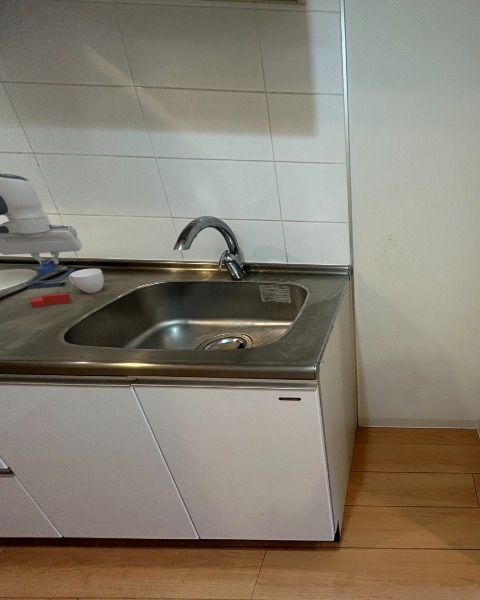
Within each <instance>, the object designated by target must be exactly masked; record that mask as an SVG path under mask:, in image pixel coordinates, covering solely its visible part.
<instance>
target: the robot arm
mask: <svg viewBox="0 0 480 600" xmlns="http://www.w3.org/2000/svg"><path fill="white" fill-rule="evenodd" d="M0 216H5V217H6V218H7V220H8V221H5V222H2V223H0V254H1V255H4V256H8V255H9V256H11V255H28V254H29V255H30V256H31V257H32V258H33V259H34V260H36V261H38V263H39V265H40V266H43V265H42V263H44V262H45V261H47V260H48V259H47V258H43V257H42V256H41V254H48V253H50V255H51V256H52V258H53V259H52V258H50V259H51V260H50V262H51V264H58V265H59V264H60V261H59V259H58V258H59V255H60V253H66V252H68V253H69V252H78V251H80V250H81V249H82V248H83V244H82V242H81V239H80V238H79V237H78V232H77V231H76V229H75V227H73V226H71V225H68V224H52V223H51V221H50V218H49V216H48V214H47V213H46V211H44V209H43V204H42V200H41V199H40V196H39V194H38V192H37V191H36V188H35V187H34V186H33V184H32V182H31V181H30V180H29V179H27V178H25V177H23V176H20V175H16V174H11V173H0Z"/></svg>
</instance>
